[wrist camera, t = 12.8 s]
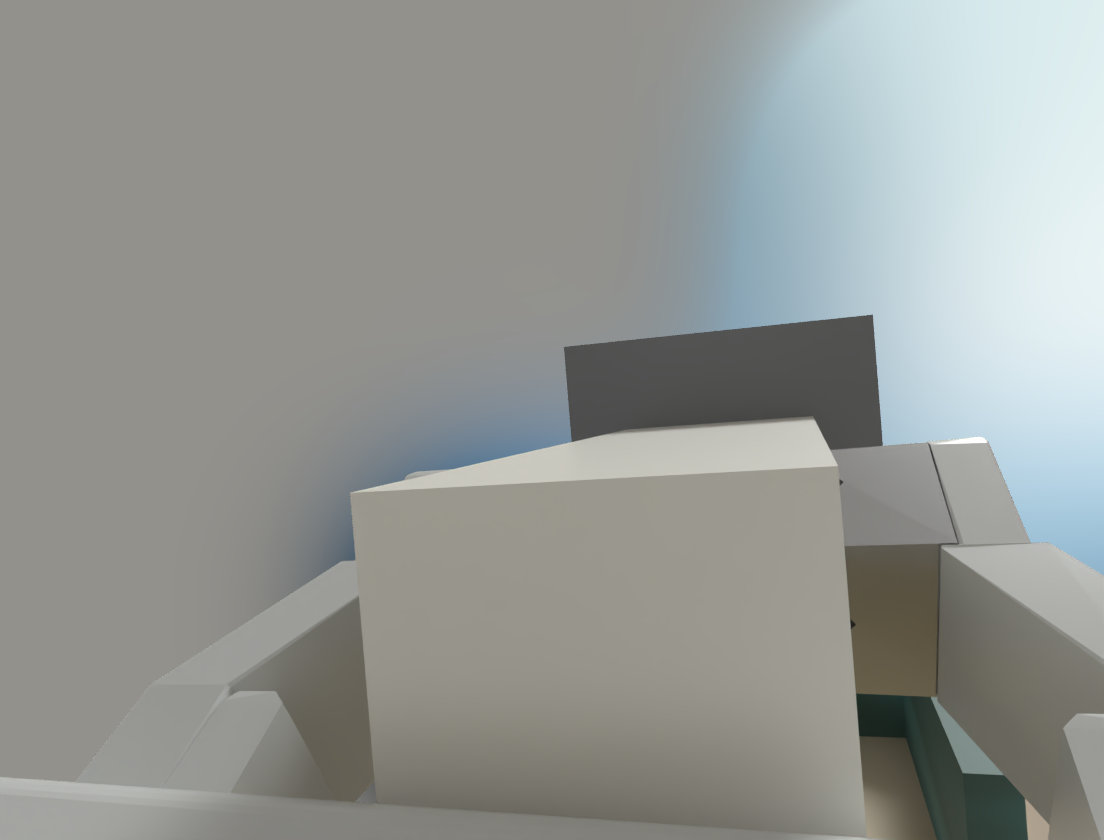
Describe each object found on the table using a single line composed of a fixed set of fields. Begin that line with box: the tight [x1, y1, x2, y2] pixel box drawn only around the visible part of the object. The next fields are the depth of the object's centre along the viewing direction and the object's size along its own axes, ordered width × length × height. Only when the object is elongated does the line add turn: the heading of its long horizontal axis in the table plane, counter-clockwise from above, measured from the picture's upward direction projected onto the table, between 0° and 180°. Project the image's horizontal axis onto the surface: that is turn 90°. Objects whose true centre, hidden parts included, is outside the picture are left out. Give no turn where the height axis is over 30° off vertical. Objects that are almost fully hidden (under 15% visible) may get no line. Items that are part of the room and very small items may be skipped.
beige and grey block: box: [350, 315, 883, 838], centre depth 13 cm, size 16×5×4 cm, turn 163°
